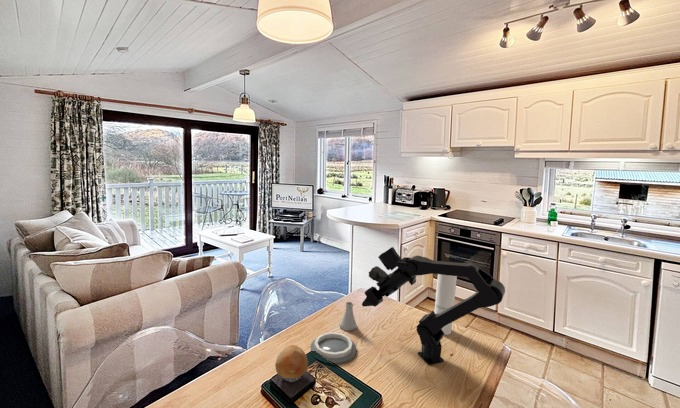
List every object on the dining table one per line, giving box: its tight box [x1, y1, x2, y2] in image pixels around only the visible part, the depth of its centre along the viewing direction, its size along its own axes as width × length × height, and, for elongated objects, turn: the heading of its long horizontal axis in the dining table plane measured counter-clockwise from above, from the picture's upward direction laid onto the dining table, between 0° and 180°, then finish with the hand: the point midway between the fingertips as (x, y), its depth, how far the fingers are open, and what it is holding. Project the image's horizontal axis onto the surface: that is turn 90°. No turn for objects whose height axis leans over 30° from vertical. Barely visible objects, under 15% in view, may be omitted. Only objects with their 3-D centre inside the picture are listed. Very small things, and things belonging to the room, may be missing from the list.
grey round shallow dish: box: [310, 331, 357, 365], centre depth 109 cm, size 16×16×3 cm
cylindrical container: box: [433, 274, 458, 336], centre depth 124 cm, size 7×7×25 cm
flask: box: [339, 301, 358, 332], centre depth 125 cm, size 7×7×10 cm
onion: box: [274, 344, 309, 378], centre depth 94 cm, size 10×10×10 cm
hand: (368, 301), depth 120 cm, fingers open, 9 cm apart
